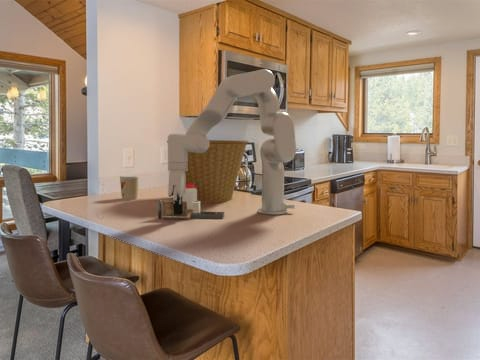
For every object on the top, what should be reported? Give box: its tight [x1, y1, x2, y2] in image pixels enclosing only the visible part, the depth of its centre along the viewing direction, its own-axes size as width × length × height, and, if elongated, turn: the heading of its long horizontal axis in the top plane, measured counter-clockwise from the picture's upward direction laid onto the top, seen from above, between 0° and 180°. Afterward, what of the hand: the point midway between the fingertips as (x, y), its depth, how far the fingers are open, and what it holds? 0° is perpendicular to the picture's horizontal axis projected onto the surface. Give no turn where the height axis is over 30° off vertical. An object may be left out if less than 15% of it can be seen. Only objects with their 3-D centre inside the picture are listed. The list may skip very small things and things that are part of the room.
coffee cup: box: [119, 174, 139, 201], centre depth 198 cm, size 9×9×12 cm
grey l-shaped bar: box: [157, 199, 188, 220], centre depth 152 cm, size 12×1×8 cm, turn 86°
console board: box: [190, 210, 225, 220], centre depth 157 cm, size 13×6×2 cm, turn 86°
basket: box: [166, 139, 250, 204], centre depth 200 cm, size 42×42×30 cm
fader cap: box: [192, 201, 201, 213], centre depth 156 cm, size 2×4×5 cm, turn 176°
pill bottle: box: [183, 183, 197, 211], centre depth 175 cm, size 8×8×11 cm
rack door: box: [162, 200, 188, 218], centre depth 152 cm, size 10×1×6 cm, turn 86°
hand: (178, 213), depth 148 cm, fingers closed
